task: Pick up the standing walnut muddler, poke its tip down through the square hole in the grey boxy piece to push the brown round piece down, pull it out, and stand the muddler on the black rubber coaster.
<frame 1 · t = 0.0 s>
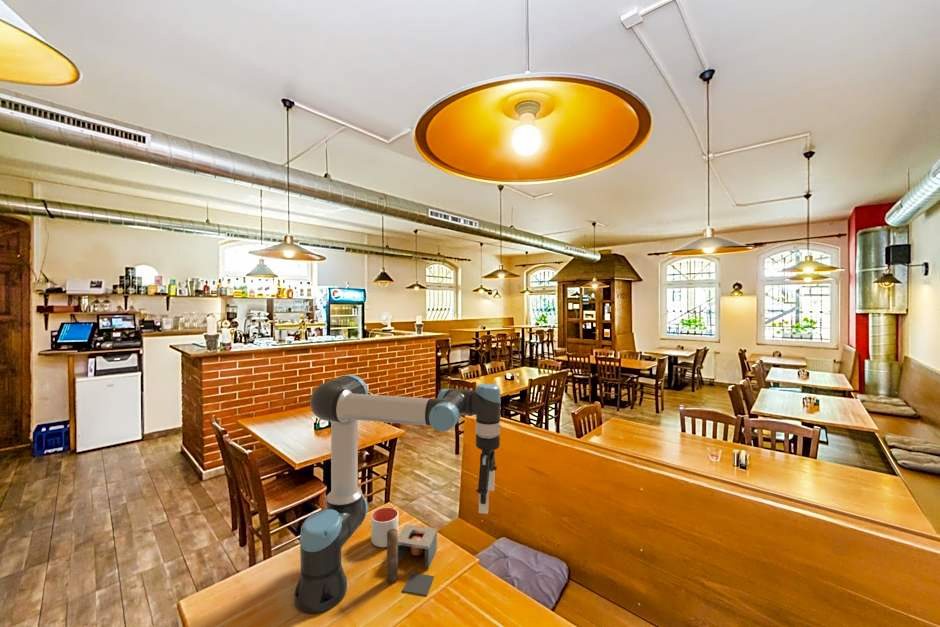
hand: (486, 500, 119), 28 cm above the table, fingers open, 13 cm apart
cup: (384, 540, 143), on the table
stylus: (392, 579, 123), on the table
grey boxy piece: (416, 557, 134), on the table
coaster: (418, 584, 121), on the table
brown round piece: (416, 545, 133), point 4 cm above the table, slide at 0.0 cm
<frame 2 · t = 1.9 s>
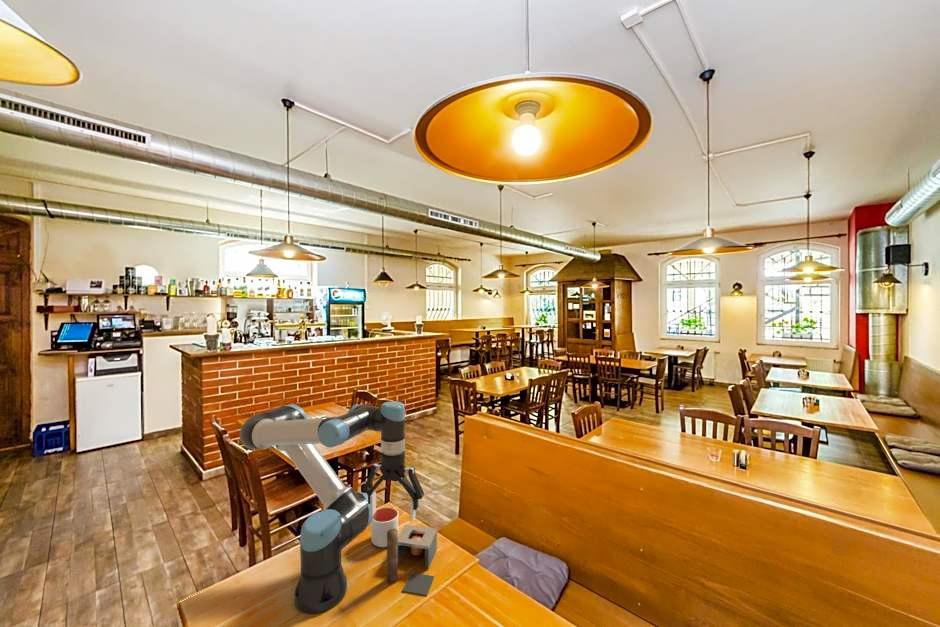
hand: (392, 516, 122), 21 cm above the table, fingers open, 13 cm apart
nothing on the table moved.
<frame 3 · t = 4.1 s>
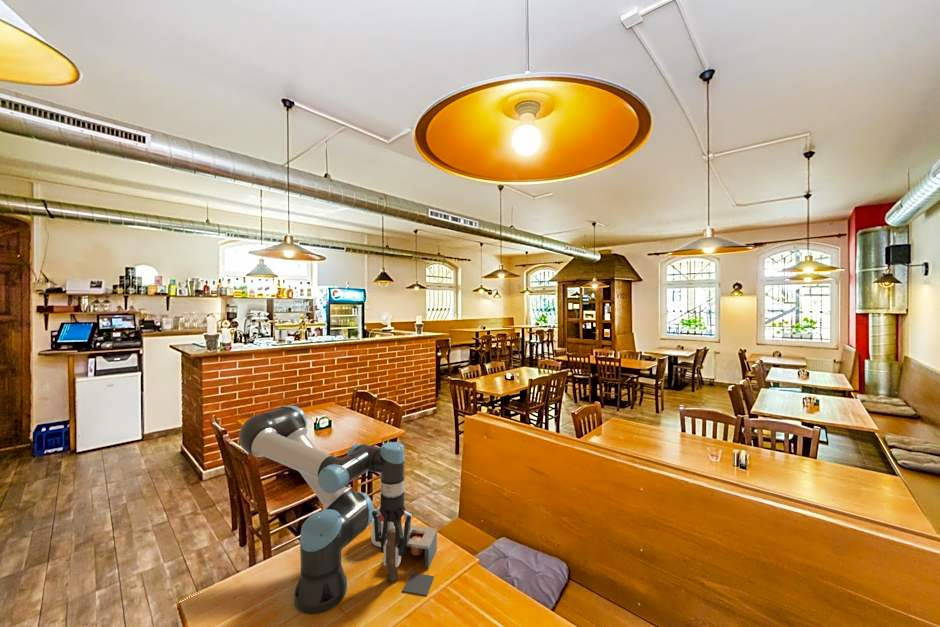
hand: (392, 563, 122), 6 cm above the table, fingers closed on stylus, 3 cm apart
stylus: (392, 579, 123), on the table, touching gripper
everything else where it was.
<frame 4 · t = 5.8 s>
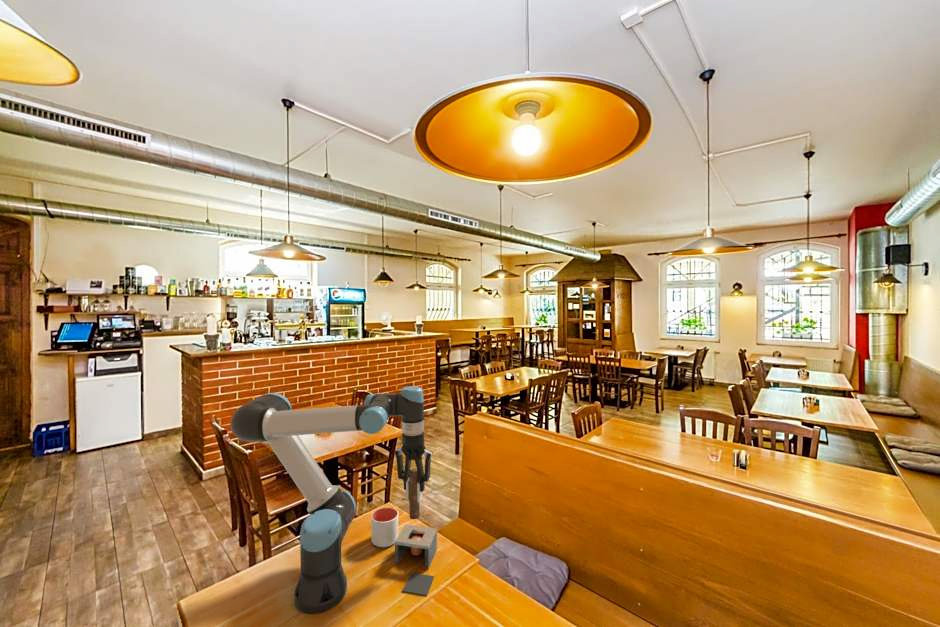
hand: (414, 499, 130), 22 cm above the table, fingers closed on stylus, 3 cm apart
stylus: (414, 516, 130), point 16 cm above the table, touching gripper
everything else where it was.
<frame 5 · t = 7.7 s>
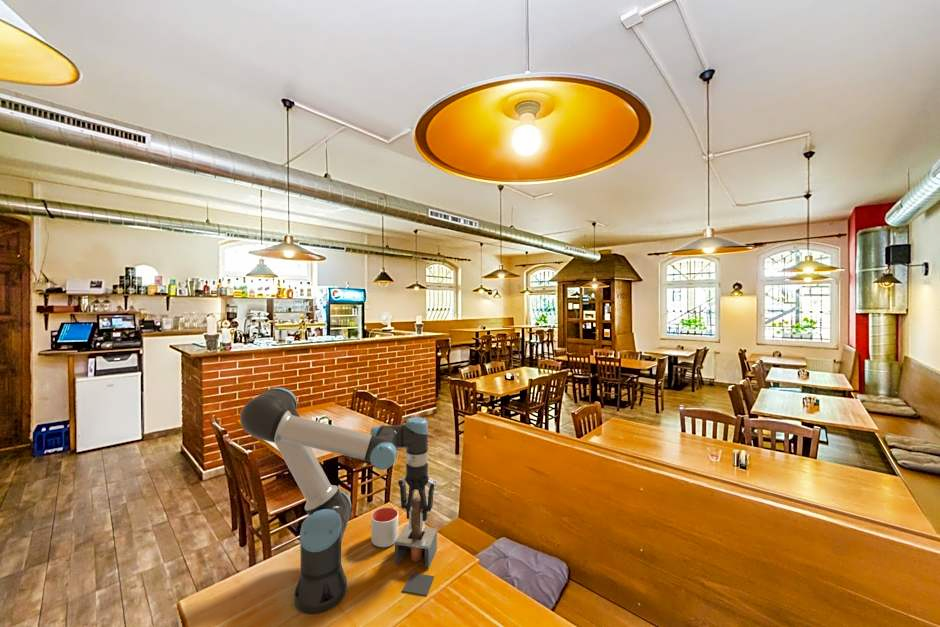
hand: (416, 528, 133), 10 cm above the table, fingers closed on stylus, 3 cm apart
stylus: (416, 544, 133), point 4 cm above the table, touching gripper, brown round piece
brown round piece: (416, 550, 133), point 2 cm above the table, slide at 2.0 cm, touching stylus
everything else where it was.
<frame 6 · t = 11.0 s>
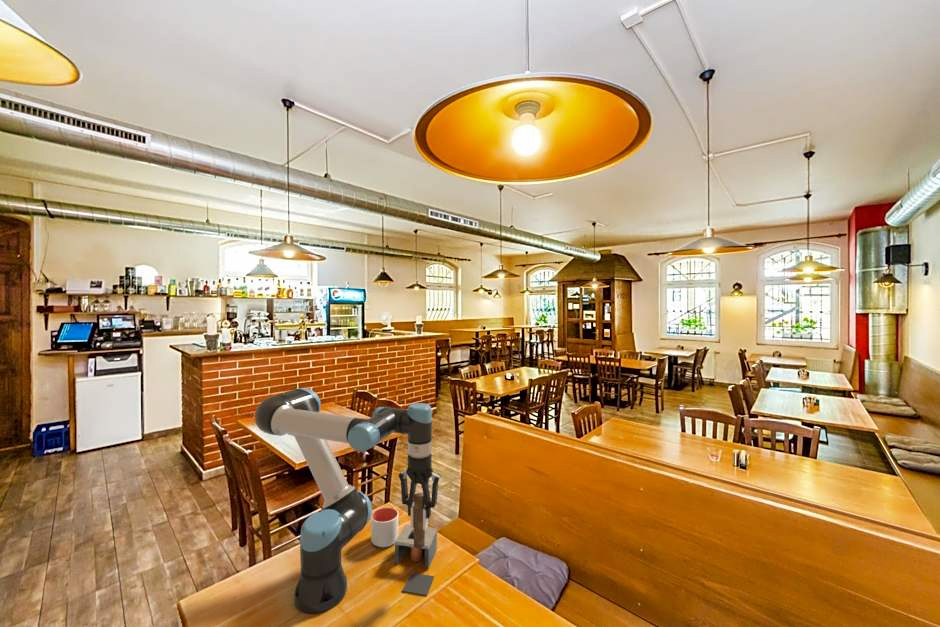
hand: (419, 526, 120), 19 cm above the table, fingers closed on stylus, 3 cm apart
stylus: (419, 544, 120), point 13 cm above the table, touching gripper
brown round piece: (416, 550, 133), point 2 cm above the table, slide at 2.0 cm
everything else where it was.
when the fingers open (6 cm above the table, at t = 13.3 s): stylus stays where it is, resting on coaster.
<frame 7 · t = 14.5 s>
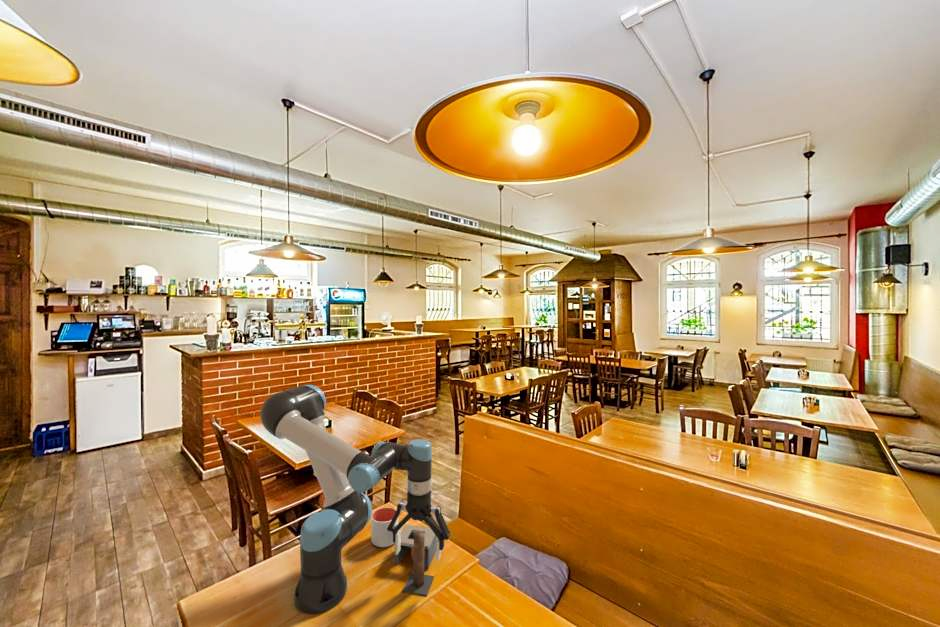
hand: (418, 555, 121), 9 cm above the table, fingers open, 13 cm apart
stylus: (418, 583, 121), resting on coaster
everything else where it was.
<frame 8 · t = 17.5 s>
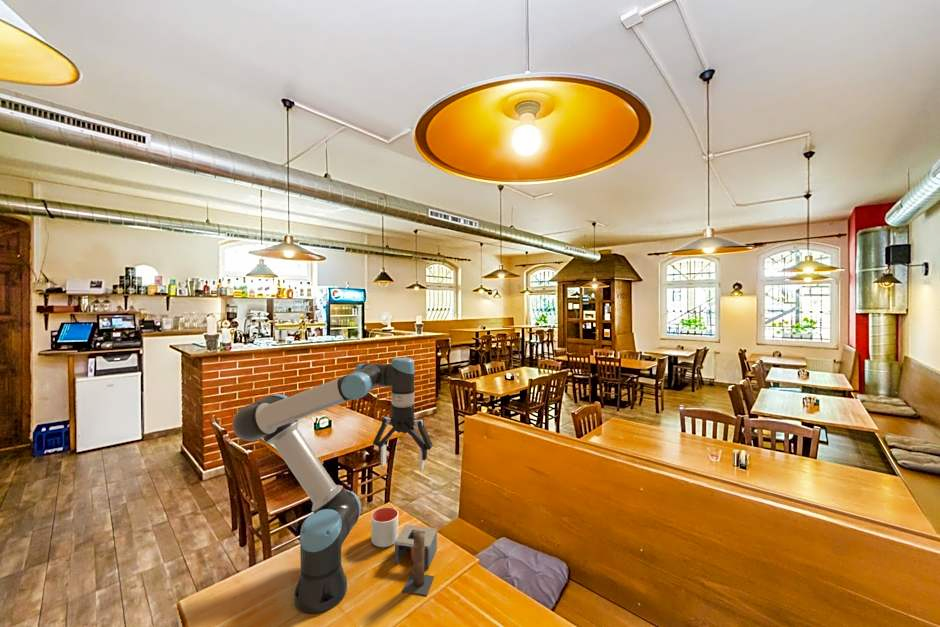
hand: (402, 467, 127), 35 cm above the table, fingers open, 13 cm apart
nothing on the table moved.
at the end: brown round piece slide at 2.0 cm; stylus inside the target area on the coaster (0.1 cm from its centre), point 0.4 cm above the coaster's base; stylus tilted 0° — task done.
